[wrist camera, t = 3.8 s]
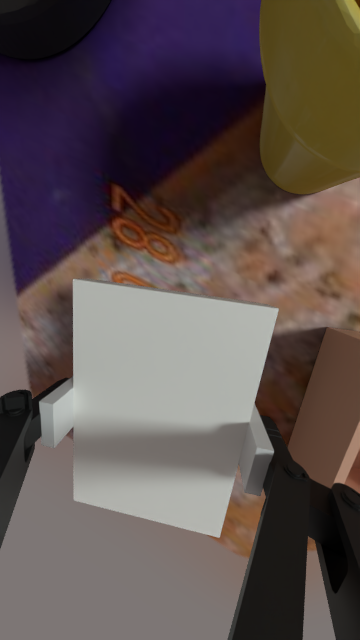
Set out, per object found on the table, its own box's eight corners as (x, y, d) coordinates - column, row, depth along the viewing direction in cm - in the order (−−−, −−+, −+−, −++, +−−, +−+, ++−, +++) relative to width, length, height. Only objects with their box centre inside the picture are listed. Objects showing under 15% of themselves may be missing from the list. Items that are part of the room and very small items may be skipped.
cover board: (90, 278, 11) (72, 279, 9) (267, 304, 10) (278, 308, 8) (86, 477, 14) (73, 500, 13) (217, 509, 13) (219, 537, 12)
